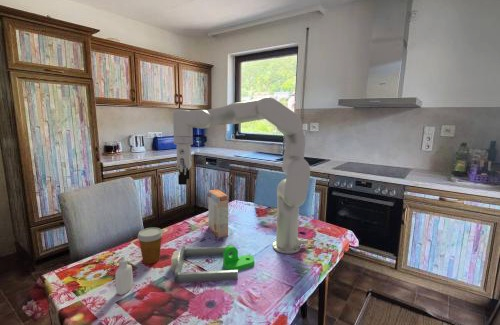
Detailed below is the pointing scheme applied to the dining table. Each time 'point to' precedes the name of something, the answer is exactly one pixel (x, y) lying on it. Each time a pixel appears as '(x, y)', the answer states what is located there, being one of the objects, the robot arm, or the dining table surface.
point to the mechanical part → (236, 259)
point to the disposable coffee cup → (150, 244)
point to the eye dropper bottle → (123, 277)
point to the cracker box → (218, 213)
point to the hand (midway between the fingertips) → (184, 181)
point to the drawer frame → (199, 276)
